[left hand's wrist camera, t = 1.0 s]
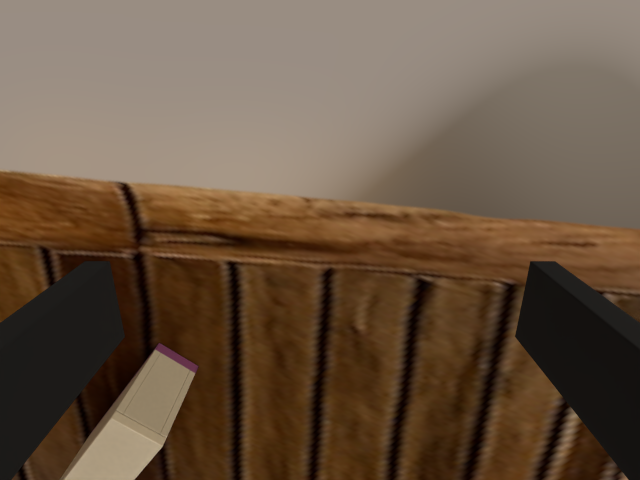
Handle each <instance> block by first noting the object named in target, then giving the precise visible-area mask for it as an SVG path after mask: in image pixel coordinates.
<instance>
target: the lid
mask: <svg viewBox="0 0 640 480" xmlns="http://www.w3.org/2000/svg"><path fill="white" fill-rule="evenodd" d="M165 440H166V438H165V437H163V436H161V435H159V434H157V433H156V432H154V431H152V430H150V429H148V428H146V427H144V426H143V425H141V424H139V423H137V422H135V421H133V420H132V419H130V418H128V417H126V416H124V415H122V414H121V413H119V412H117V411H115V412H114V413H113V415H112V416H111V417H110V419H109V420H108V421H107V422H106V424H105V425H104V426H103V428H102V429H101V430H100V432H99V433H98V434H97V436H96V437H95V438H94V439H93V441H92V442H91V443H90V445H89V446H88V447H87V449H86V450H85V451H84V452H83V454H82V455H81V456H80V458H79V459H78V460H77V462H76V463H75V464H74V466H73V467H72V468H71V469H70V471H69V472H68V473H67V475H66V476H65V477H64V479H63V480H134V479H135V478H136V477H137V476H138V475H139V473H140V472H141V471H142V470H143V469H144V468H145V466H146V465H147V464H148V463H149V462H150V461H151V459H152V458H153V457H154V456H155V455H156V454H157V452H158V451H159V450H160V449H161V448H162V446H163V444H164V442H165Z"/></svg>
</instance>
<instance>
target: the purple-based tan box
mask: <svg viewBox="0 0 640 480" xmlns="http://www.w3.org/2000/svg"><path fill="white" fill-rule="evenodd" d="M198 367H199V366H197V365H195V364H194V363H192V362H190V361H189V360H187V359H185V358H184V357H182V356H180V355H179V354H177V353H175V352H174V351H172V350H170V349H169V348H167V347H165V346H164V345H162V344H160V343H159V344H158V345H157V346H156V348H155V349H154V350H153V352H152V353H151V354H150V356H149V357H148V358H147V360H146V361H145V362H144V364H143V365H142V366H141V368H140V369H139V370H138V371H137V373H136V374H135V375H134V377H133V378H132V379H131V381H130V382H129V383H128V385H127V386H126V387H125V389H124V390H123V391H122V393H121V394H120V395H119V397H118V398H117V399H116V400H115V402H114V403H113V404H112V406H111V407H110V408H109V410H108V411H107V412H106V414H105V415H104V416H103V418H102V419H101V420H100V422H99V423H98V424H97V426H96V427H95V428H94V430H93V431H92V432H91V434H90V435H89V437H88V439H87V440H86V441H85V443H84V444H83V446H82V447H81V449H80V450H79V452H78V453H77V455H76V456H75V458H74V459H73V461H72V462H71V464H70V465H69V467H68V468H67V470H66V471H65V473H64V474H63V476H62V477H61V479H60V480H63V479H64V477H65V476H66V475H67V473H68V472H69V471H70V469H71V468H72V467H73V466H74V464H75V463H76V462H77V460H78V459H79V458H80V456H81V455H82V454H83V452H84V451H85V450H86V449H87V447H88V446H89V445H90V443H91V442H92V441H93V439H94V438H95V437H96V436H97V434H98V433H99V432H100V430H101V429H102V428H103V426H104V425H105V424H106V422H107V421H108V420H109V419H110V417H111V416H112V415H113V413H114V412H115V411H117V412H119V413H121V414H122V415H124V416H126V417H128V418H130V419H132V420H133V421H135V422H137V423H139V424H141V425H143V426H144V427H146V428H148V429H150V430H152V431H154V432H156V433H157V434H159V435H161V436H163V437H165V438H167V436H168V433H169V431H170V429H171V427H172V424H173V422H174V420H175V418H176V415H177V413H178V411H179V409H180V406H181V404H182V402H183V400H184V398H185V395H186V393H187V391H188V389H189V386H190V384H191V382H192V380H193V377H194V375H195V373H196V371H197V369H198Z"/></svg>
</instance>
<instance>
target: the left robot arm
mask: <svg viewBox="0 0 640 480" xmlns="http://www.w3.org/2000/svg"><path fill="white" fill-rule="evenodd" d="M124 337H125V335H124V330H123V326H122V321H121V316H120V311H119V306H118V301H117V296H116V291H115V286H114V281H113V276H112V271H111V266H110V261H85V262H84V263H82V264H81V265H79V266H78V267H77V268H75V269H74V270H73V271H71V272H70V273H68V274H67V275H66V276H64V277H63V278H62V279H60V280H59V281H57V282H56V283H55V284H53V285H52V286H50V287H49V288H48V289H46V290H45V291H44V292H42V293H41V294H39V295H38V296H37V297H35V298H34V299H33V300H31V301H30V302H28V303H27V304H26V305H24V306H23V307H22V308H20V309H19V310H17V311H16V312H15V313H13V314H12V315H11V316H9V317H8V318H6V319H5V320H4V321H2V322H1V323H0V480H11V479H12V478H13V477H14V476H15V474H16V473H17V472H18V471H19V469H20V468H21V467H22V466H23V464H24V463H25V462H26V461H27V459H28V458H29V457H30V455H31V454H32V453H33V452H34V450H35V449H36V448H37V447H38V445H39V444H40V443H41V442H42V440H43V439H44V438H45V437H46V435H47V434H48V433H49V432H50V430H51V429H52V428H53V426H54V425H55V424H56V423H57V421H58V420H59V419H60V418H61V416H62V415H63V414H64V413H65V411H66V410H67V409H68V408H69V406H70V405H71V404H72V403H73V401H74V400H75V399H76V398H77V396H78V395H79V394H80V392H81V391H82V390H83V389H84V387H85V386H86V385H87V384H88V382H89V381H90V380H91V379H92V377H93V376H94V375H95V374H96V372H97V371H98V370H99V369H100V367H101V366H102V365H103V364H104V362H105V361H106V360H107V358H108V357H109V356H110V355H111V353H112V352H113V351H114V350H115V348H116V347H117V346H118V345H119V343H120V342H121V341H122V340H123V338H124ZM515 337H516V338H517V340H518V341H519V342H520V343H521V345H522V346H523V347H524V348H525V350H526V351H527V352H528V353H529V355H530V356H531V357H532V358H533V360H534V361H535V362H536V364H537V365H538V366H539V367H540V369H541V370H542V371H543V372H544V374H545V375H546V376H547V377H548V379H549V380H550V381H551V382H552V384H553V385H554V386H555V387H556V389H557V390H558V391H559V392H560V394H561V395H562V396H563V398H564V399H565V400H566V401H567V403H568V404H569V405H570V406H571V408H572V409H573V410H574V411H575V413H576V414H577V415H578V416H579V418H580V419H581V420H582V421H583V423H584V424H585V425H586V426H587V428H588V429H589V430H590V432H591V433H592V434H593V435H594V437H595V438H596V439H597V440H598V442H599V443H600V444H601V445H602V447H603V448H604V449H605V450H606V452H607V453H608V454H609V455H610V457H611V458H612V459H613V461H614V462H615V463H616V464H617V466H618V467H619V468H620V469H621V471H622V472H623V473H624V474H625V476H626V477H627V478H628V479H629V480H640V323H639V322H638V321H636V320H635V319H634V318H632V317H631V316H629V315H628V314H627V313H625V312H624V311H623V310H621V309H620V308H618V307H617V306H616V305H614V304H613V303H612V302H610V301H609V300H607V299H606V298H605V297H603V296H602V295H601V294H599V293H598V292H596V291H595V290H594V289H592V288H591V287H590V286H588V285H587V284H585V283H584V282H583V281H581V280H580V279H578V278H577V277H576V276H574V275H573V274H572V273H570V272H569V271H567V270H566V269H565V268H563V267H562V266H561V265H559V264H558V263H556V262H555V261H530V266H529V271H528V276H527V281H526V286H525V291H524V296H523V301H522V306H521V311H520V316H519V321H518V326H517V330H516V335H515Z"/></svg>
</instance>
